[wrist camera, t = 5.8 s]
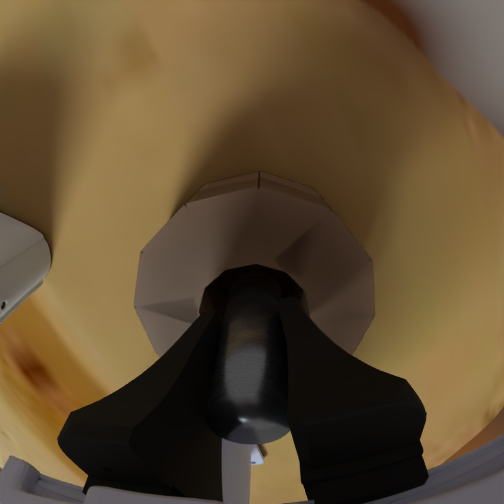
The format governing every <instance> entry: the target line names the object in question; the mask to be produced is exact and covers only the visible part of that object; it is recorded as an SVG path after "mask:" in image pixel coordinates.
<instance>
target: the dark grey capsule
mask: <svg viewBox="0 0 504 504" xmlns="http://www.w3.org/2000/svg"><path fill="white" fill-rule="evenodd" d="M278 299H282V292H281V288H280V286H279V284H278V283H277V282H276V280H274V279H273V278H272V277H271V276H269V275H267V274H264V273H259V272H251V273H246V274H244V275H241V276H240V277H238V278H237V279H236V280H235V281H234V282H233V283H232V285H231V287H230V290H229V294H228V299H227V304H226V310H225V315H224V320H223V325H222V331H221V336H220V341H219V347H218V352H217V357H216V363H215V368H214V374H213V379H212V384H211V390H210V395H209V401H208V407H207V412H206V423H207V425H208V427H209V428H210V430H211V431H212V432H213V433H215V434H216V435H217V436H219V437H221V438H223V439H225V440H228V441H231V442H234V443H239V444H250V445H254V444H264V443H269V442H272V441H275V440H278V439H280V438H282V437H283V436H285V435H286V434H287V433H288V432H289V431H290V427H289V424H288V420H287V402H288V357H287V343H286V339H285V335H284V331H283V326H282V322H281V318H280V313H279V309H278Z"/></svg>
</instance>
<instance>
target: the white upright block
mask: <svg viewBox="0 0 504 504" xmlns="http://www.w3.org/2000/svg"><path fill="white" fill-rule="evenodd" d="M50 265H51V255H50V250H49V246H48V244H47V241H46V240H45V239H44V236H43V235H42V234H41V233H40V232H39V231H37V230H36V229H34V228H32V227H30V226H28V225H26V224H24V223H22V222H20V221H18V220H16V219H14V218H11V217H9V216H7V215H5V214H2V213H0V324H1V323H2V322H3V321H4V320H5V319H6V318H7V317H8V316H9V315H10V314H11V313H12V312H13V311H14V310H15V309H16V308H17V307H18V306H20V305H21V304H22V303H23V302H24V301H25V300H26V299H27V298H28V297H29V296H30V295H31V294H32V293H34V292H35V291H36V290H37V289H38V288H39V287H40V286H41V284H42V283H43V278H44V277H45V276H46V275H47V273H48V272H49V269H50Z"/></svg>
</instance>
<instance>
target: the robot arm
mask: <svg viewBox="0 0 504 504" xmlns="http://www.w3.org/2000/svg"><path fill="white" fill-rule="evenodd" d="M278 309H279V313H280V318H281V322H282V326H283V331H284V335H285V339H286V343H287V357H288V402H287V420H288V424H289V427H290V431H291V434H292V437H293V441H294V444H295V448H296V451H297V454H298V458H299V461H300V475H301V483H302V484H303V486H304V489H305V492H306V495H307V498H308V501H301V502H293V503H284V504H504V434H503V435H501V436H499V437H498V438H496V439H494V440H492V441H490V442H488V443H486V444H485V445H483V446H481V447H479V448H477V449H475V450H473V451H471V452H469V453H467V454H464V455H462V456H460V457H458V458H456V459H454V460H451V461H449V462H446V463H444V464H442V465H439V466H437V467H434V468H432V469H429V470H427V468H426V466H425V463H424V460H423V457H422V454H423V447H422V444H421V442H420V438H421V435H422V432H423V428H424V425H425V422H426V415H427V413H426V411H425V408H424V406H423V403H422V402H421V400H420V398H419V397H418V395H417V394H416V392H415V391H414V389H413V388H412V387H411V385H410V384H409V383H408V382H407V380H406V379H403V378H400V377H397V376H394V375H391V374H389V373H386V372H383V371H380V370H378V369H376V368H374V367H372V366H369V365H368V364H366V363H364V362H362V361H361V360H359V359H357V358H356V357H354V356H352V355H351V354H349V353H348V352H346V351H345V350H343V349H342V348H341V347H340V346H338V345H337V344H336V343H334V342H333V341H332V340H331V339H330V338H329V337H328V336H327V335H326V334H325V333H324V332H322V331H321V330H320V328H319V327H318V326H317V325H316V324H315V323H314V322H313V321H312V319H311V318H310V317H309V316H308V315H307V313H306V312H305V310H304V309H303V307H302V306H301V304H300V302H299V300H298V298H297V297H295V296H293V297H288V298H283V299H278ZM221 331H222V324H221V321H220V318H219V316H218V313H217V311H211V312H205V313H202V314H201V315H200V316H199V317H198V318H197V319H196V320H195V321H194V322H193V323H192V324H191V326H190V327H189V328H188V329H187V330H186V331H185V332H184V333H183V335H182V336H181V337H180V338H179V339H178V340H177V341H176V342H175V343H174V344H173V345H172V346H171V347H170V348H169V349H168V351H167V352H166V353H165V354H164V355H163V356H162V357H161V358H160V359H158V360H157V361H156V362H155V363H154V364H153V365H152V366H151V367H149V368H148V369H147V370H146V371H144V372H143V373H142V374H141V375H139V376H138V377H137V378H135V379H134V380H132V381H131V382H129V383H128V384H126V385H125V386H123V387H122V388H120V389H119V390H117V391H115V392H114V393H112V394H110V395H108V396H106V397H104V398H103V399H101V400H99V401H97V402H94V403H92V404H90V405H87V406H85V407H83V408H80V409H78V410H75V411H73V412H71V413H70V415H69V417H68V418H67V420H66V422H65V424H64V426H63V428H62V430H61V432H60V434H59V436H58V438H57V440H58V444H59V446H60V448H61V450H62V451H63V452H64V453H65V454H66V456H67V457H68V458H70V459H71V460H72V461H73V462H74V463H75V464H76V465H77V466H78V467H79V468H80V469H82V470H83V471H84V472H85V473H86V474H87V475H88V478H87V480H86V483H85V486H84V487H80V486H77V485H73V484H70V483H67V482H63V481H60V480H57V479H54V478H51V477H48V476H45V475H43V474H40V472H39V471H38V470H37V469H36V468H34V467H33V466H32V465H31V464H29V463H28V462H26V461H24V460H21V459H19V458H16V457H14V456H9V458H8V460H7V462H6V464H5V466H4V468H3V470H2V472H1V474H0V504H249V500H250V477H251V465H258V464H263V463H264V457H263V455H262V453H261V451H260V449H259V447H258V445H257V444H254V445H250V444H239V443H234V442H231V441H228V440H225V439H223V438H221V437H219V436H217V435H216V434H215V433H213V432H212V431H211V430H210V428H209V427H208V425H207V423H206V412H207V407H208V401H209V395H210V390H211V384H212V379H213V374H214V368H215V363H216V357H217V352H218V347H219V341H220V336H221Z"/></svg>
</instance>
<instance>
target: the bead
mask: <svg viewBox="0 0 504 504" xmlns="http://www.w3.org/2000/svg"><path fill="white" fill-rule="evenodd" d="M252 264H259V265H263V266H266V267H270V268H273V269H277V270H280V271H284V272H286V273H287V274H288V275H289V276H290V277H291V278H292V279H293V280H294V281H295V282H296V283H295V286H294V288H293V291H292V292H291V293H290V294H289V295H287V296H286V297H285V298H288V297H293V296H295V297H297V298H298V300H299V302H300V304H301V306H302V307H303V309H304V310H305V312H306V313H307V315H308V316H309V317H310V318H311V319H312V321H313V322H314V323H315V324H316V325H317V326H318V327H319V328H320V330H321V331H322V332H324V333H325V334H326V335H327V336H328V337H329V338H330V339H331V340H332V341H333V342H334V343H336V344H337V345H338V346H340V347H341V348H342V349H343V350H345V351H346V352H348V353H349V354H351V355H352V354H353V353H354V351H355V349H356V348H357V346H358V344H359V343H360V341H361V339H362V338H363V336H364V334H365V332H366V331H367V329H368V327H369V325H370V324H371V322H372V320H373V318H374V317H375V316H374V315H375V302H374V281H373V265H372V260H371V258H370V257H369V255H368V254H367V253H366V251H365V250H364V249H363V247H362V246H361V245H360V244H359V242H358V241H357V240H356V239H355V237H354V236H353V235H352V233H351V232H350V231H349V230H348V228H347V227H346V226H345V225H344V224H343V222H342V221H341V220H340V219H339V218H338V216H337V215H336V214H335V213H334V212H333V210H332V209H331V208H330V207H329V206H328V204H327V203H326V202H325V201H324V200H323V199H322V197H321V196H320V195H319V194H318V193H317V192H316V190H315V189H313V188H312V187H309V186H306V185H303V184H300V183H297V182H294V181H290V180H287V179H284V178H281V177H278V176H275V175H271V174H268V173H265V172H261V171H260V174H259V171H257V172H253V173H248V174H244V175H240V176H235V177H231V178H227V179H223V180H219V181H215V182H211V183H207V184H205V185H203V186H202V187H201V188H200V189H199V190H198V191H197V192H196V193H195V194H194V195H193V196H192V197H191V198H190V199H189V200H188V201H187V202H186V203H185V204H184V205H183V206H182V207H181V208H180V209H179V210H178V212H177V213H176V214H175V215H174V216H173V217H172V218H171V219H170V220H169V221H168V222H167V223H166V224H165V225H164V226H163V227H162V228H161V230H160V231H159V232H158V233H157V234H156V235H155V236H154V237H153V238H152V239H151V240H150V241H149V243H148V244H147V245H146V246H145V247H144V248H143V249H142V250H141V252H140V259H139V266H138V273H137V281H136V289H135V298H134V306H135V307H134V308H135V311H136V313H137V315H138V317H139V319H140V321H141V323H142V325H143V327H144V329H145V332H146V334H147V336H148V338H149V340H150V342H151V344H152V346H153V347H154V349H155V351H156V353H158V355H159V356H160V357H162V356H163V355H164V354H165V353H166V352H167V351H168V349H169V348H170V347H171V346H172V345H173V344H174V343H175V342H176V341H177V340H178V339H179V338H180V337H181V336H182V335H183V333H184V332H185V331H186V330H187V329H188V328H189V327H190V326H191V324H192V323H193V322H194V321H195V320H196V319H197V318H198V317H199V316H200V315H201V314H202V313H205V312H211V311H217V313H218V316H219V318H220V321H221V324H222V325H223V320H224V315H225V310H226V304H227V299H228V297H227V296H226V295H225V294H224V293H222V292H221V291H220V290H219V289H218V286H217V283H216V280H215V278H217V277H218V276H219V275H220V274H221V273H222V272H224V271H225V270H227V269H232V268H237V267H242V266H247V265H252Z"/></svg>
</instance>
